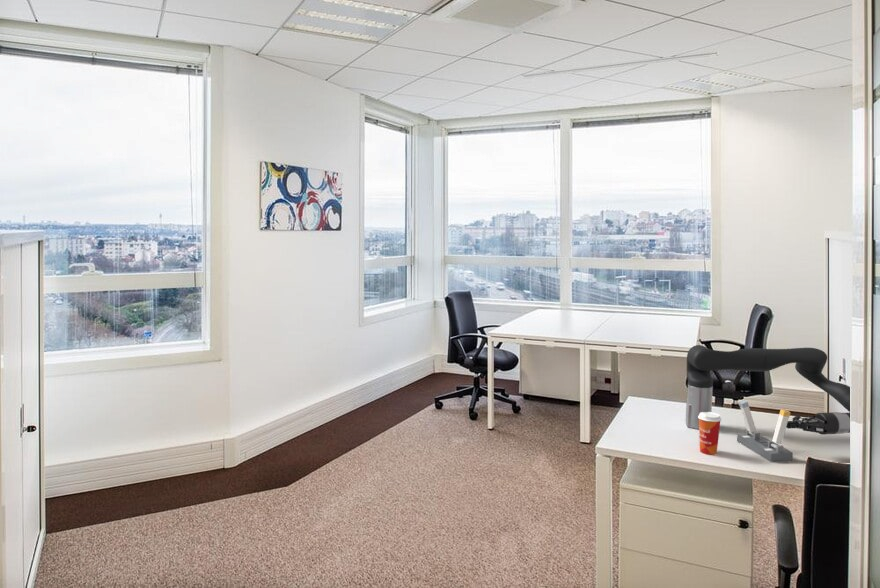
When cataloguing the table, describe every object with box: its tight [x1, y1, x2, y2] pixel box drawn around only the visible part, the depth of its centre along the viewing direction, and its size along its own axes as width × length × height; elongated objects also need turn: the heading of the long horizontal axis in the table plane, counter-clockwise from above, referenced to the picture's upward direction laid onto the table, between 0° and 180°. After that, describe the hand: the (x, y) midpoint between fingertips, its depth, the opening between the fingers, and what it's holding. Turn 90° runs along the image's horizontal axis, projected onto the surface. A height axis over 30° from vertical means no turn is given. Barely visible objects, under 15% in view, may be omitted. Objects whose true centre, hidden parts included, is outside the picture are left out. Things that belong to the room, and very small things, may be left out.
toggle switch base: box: [736, 428, 794, 463], centre depth 213 cm, size 8×20×5 cm, turn 5°
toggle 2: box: [771, 409, 791, 449], centre depth 206 cm, size 2×3×14 cm
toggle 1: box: [738, 399, 757, 436], centre depth 218 cm, size 2×3×14 cm
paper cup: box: [698, 411, 722, 456], centre depth 212 cm, size 8×8×14 cm
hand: (786, 424), depth 205 cm, fingers closed
